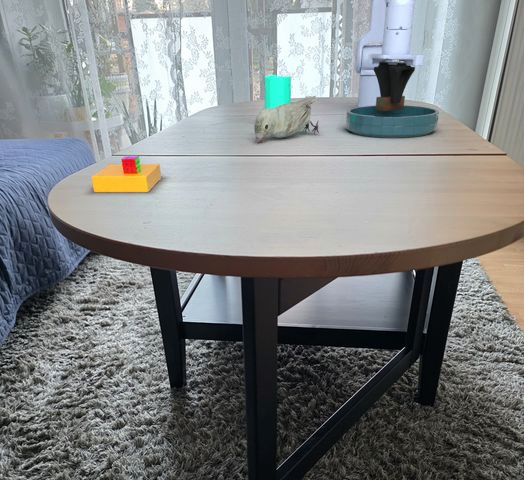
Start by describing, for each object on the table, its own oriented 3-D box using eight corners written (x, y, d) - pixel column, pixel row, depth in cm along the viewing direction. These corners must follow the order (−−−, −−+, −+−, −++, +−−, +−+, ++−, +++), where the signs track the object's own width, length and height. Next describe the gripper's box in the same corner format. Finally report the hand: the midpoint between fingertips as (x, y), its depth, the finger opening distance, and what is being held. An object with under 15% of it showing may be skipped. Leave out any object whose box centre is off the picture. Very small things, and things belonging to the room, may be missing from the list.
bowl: (363, 121, 123) (364, 103, 121) (445, 126, 115) (448, 107, 113) (332, 134, 109) (333, 114, 107) (422, 141, 100) (425, 119, 98)
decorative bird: (248, 141, 104) (247, 101, 100) (305, 132, 113) (306, 95, 109) (265, 145, 101) (264, 103, 97) (322, 135, 109) (324, 96, 105)
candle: (261, 125, 121) (259, 68, 115) (283, 123, 123) (283, 67, 117) (271, 129, 117) (271, 69, 110) (295, 127, 119) (295, 68, 112)
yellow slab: (93, 192, 73) (87, 161, 71) (111, 178, 80) (106, 150, 78) (148, 192, 72) (143, 161, 70) (161, 178, 79) (158, 149, 77)
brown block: (395, 107, 115) (396, 94, 113) (403, 108, 113) (405, 95, 111) (375, 110, 112) (376, 97, 111) (383, 111, 110) (384, 98, 109)
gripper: (360, 30, 108) (355, 101, 115) (408, 29, 97) (400, 107, 105) (385, 29, 111) (378, 98, 118) (435, 28, 100) (424, 104, 108)
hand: (390, 102), depth 112 cm, fingers closed on brown block, 2 cm apart
